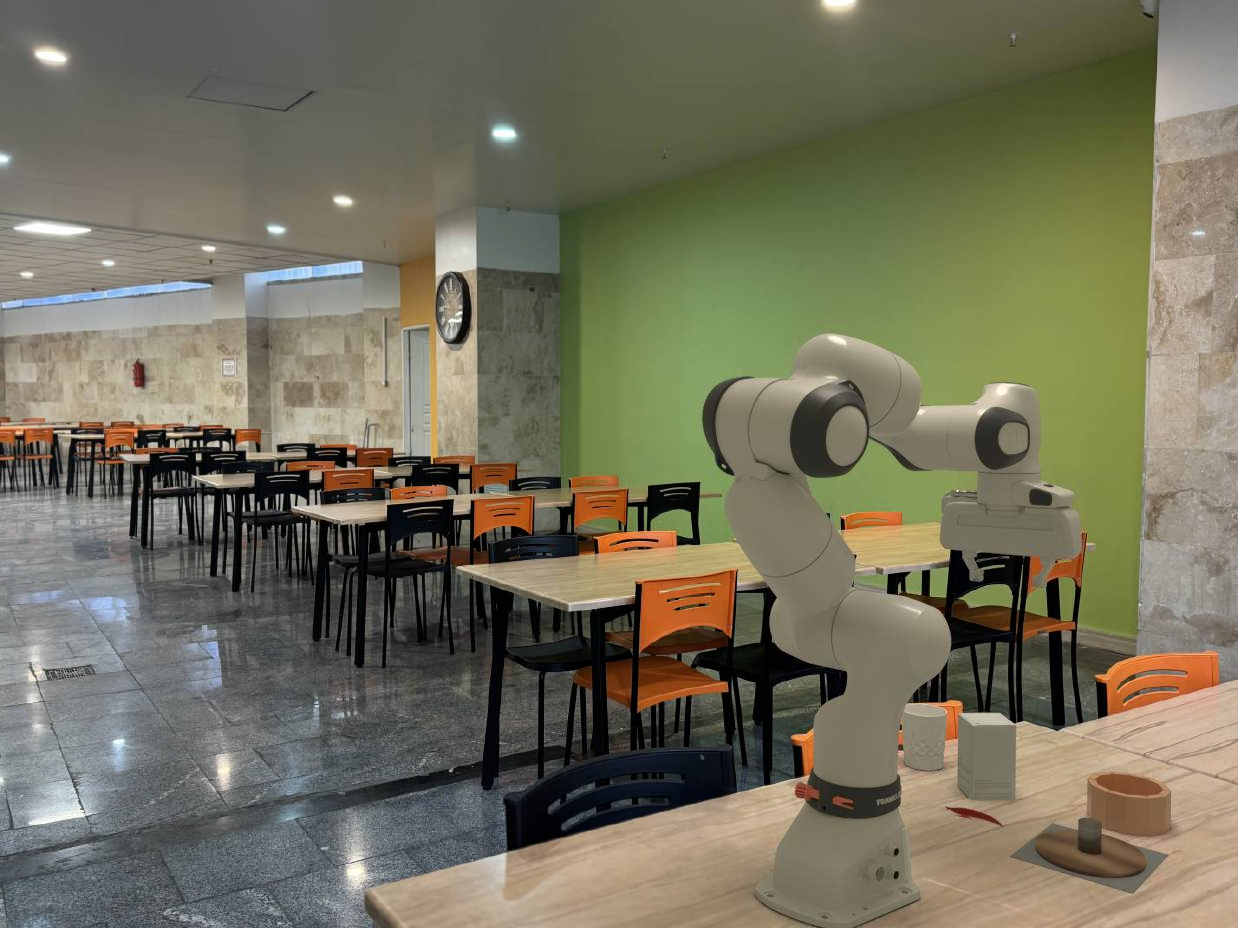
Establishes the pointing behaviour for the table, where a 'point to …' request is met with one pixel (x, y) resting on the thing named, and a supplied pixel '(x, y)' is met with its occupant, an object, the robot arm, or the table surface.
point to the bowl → (1129, 803)
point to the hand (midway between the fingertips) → (1007, 584)
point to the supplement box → (986, 756)
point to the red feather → (973, 814)
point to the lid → (1090, 851)
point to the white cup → (924, 736)
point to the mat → (1124, 884)
